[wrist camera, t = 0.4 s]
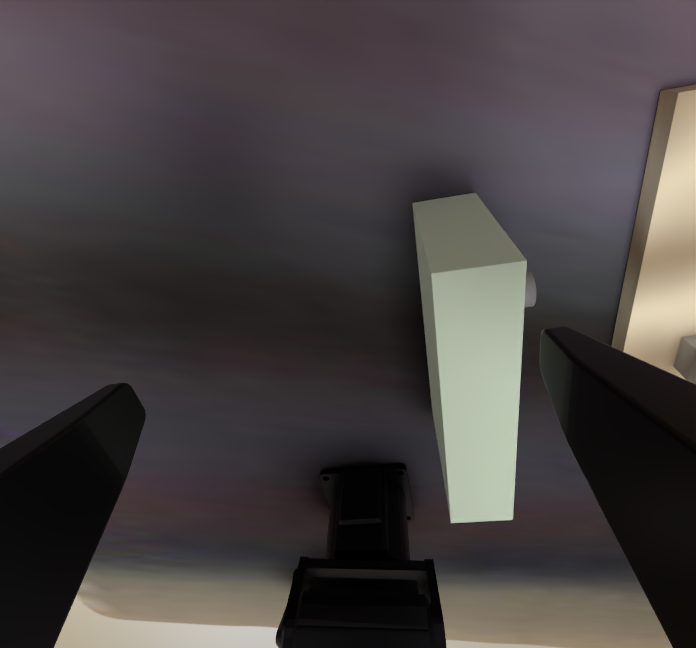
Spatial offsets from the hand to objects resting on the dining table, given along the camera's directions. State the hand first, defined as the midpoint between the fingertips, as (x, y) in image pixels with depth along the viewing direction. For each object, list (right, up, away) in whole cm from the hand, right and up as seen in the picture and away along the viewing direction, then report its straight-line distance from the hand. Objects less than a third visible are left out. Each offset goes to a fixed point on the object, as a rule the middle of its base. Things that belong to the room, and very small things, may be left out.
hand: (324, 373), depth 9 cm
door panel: (+6, +1, +15) cm, 16 cm away
